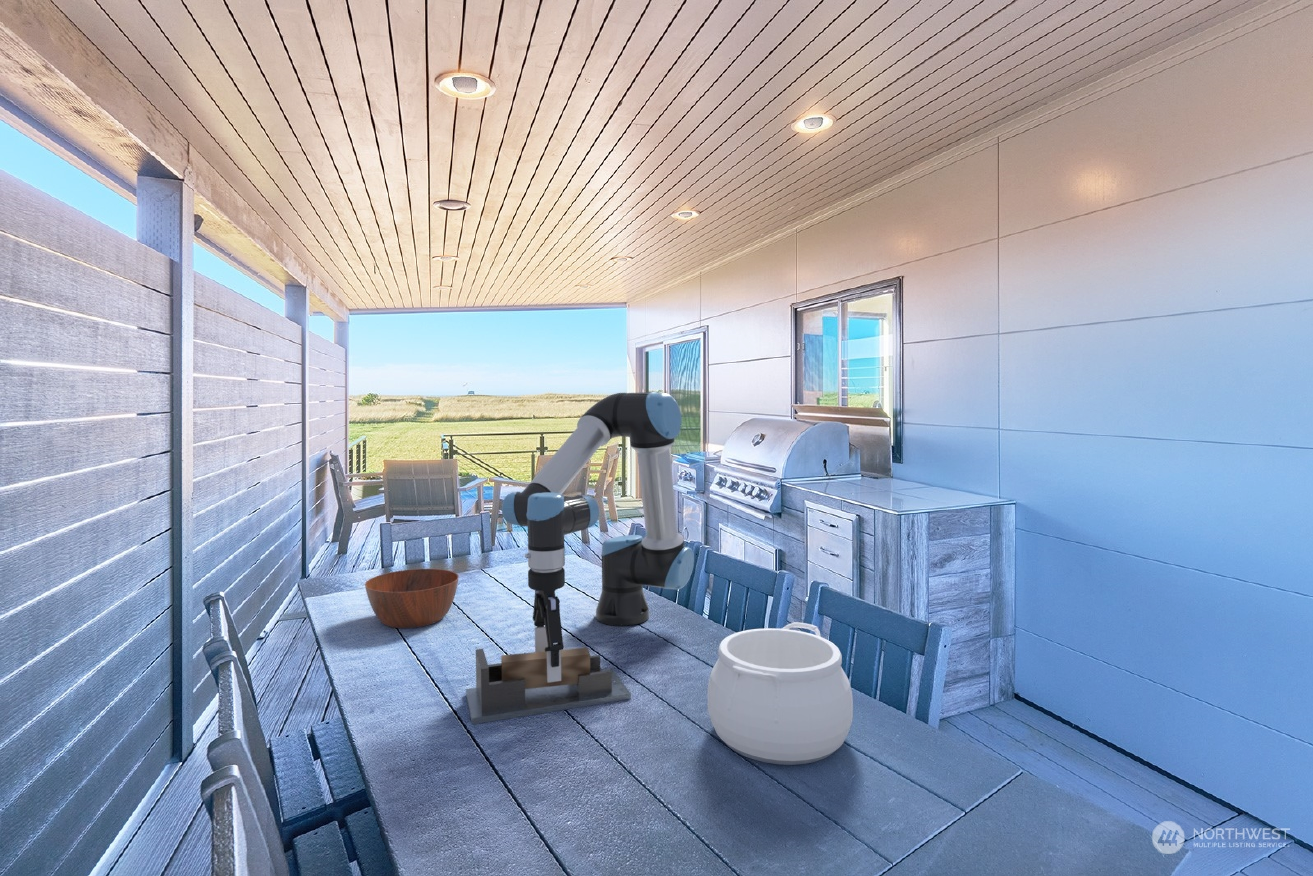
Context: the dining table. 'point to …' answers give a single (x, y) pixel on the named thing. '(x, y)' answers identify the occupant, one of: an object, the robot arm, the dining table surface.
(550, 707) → the block fixture
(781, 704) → the pot
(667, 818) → the dining table surface
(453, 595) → the bowl
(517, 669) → the rail
